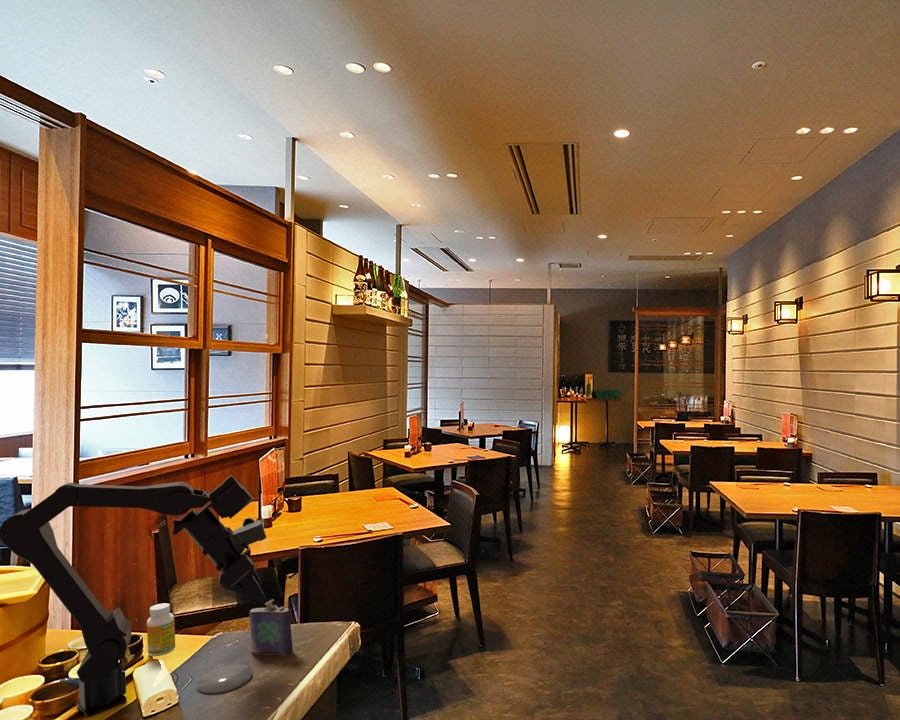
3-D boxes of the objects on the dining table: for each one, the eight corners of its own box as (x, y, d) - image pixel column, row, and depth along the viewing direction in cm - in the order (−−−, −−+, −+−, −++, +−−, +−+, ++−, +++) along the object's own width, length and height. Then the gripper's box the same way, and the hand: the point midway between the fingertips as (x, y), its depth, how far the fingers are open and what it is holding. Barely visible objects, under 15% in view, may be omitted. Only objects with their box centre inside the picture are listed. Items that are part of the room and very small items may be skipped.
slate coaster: (211, 699, 106) (211, 696, 106) (187, 683, 113) (187, 680, 113) (262, 676, 113) (261, 673, 114) (236, 662, 120) (236, 659, 120)
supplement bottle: (164, 657, 125) (162, 611, 126) (142, 656, 126) (140, 611, 127) (180, 646, 131) (178, 601, 131) (159, 645, 132) (157, 601, 132)
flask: (249, 654, 124) (246, 603, 124) (256, 648, 126) (254, 598, 127) (289, 656, 122) (286, 603, 122) (296, 649, 125) (293, 598, 125)
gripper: (247, 515, 110) (300, 575, 113) (243, 499, 127) (288, 552, 130) (196, 557, 106) (251, 619, 109) (198, 536, 124) (246, 589, 126)
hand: (261, 592), depth 119 cm, fingers open, 9 cm apart
